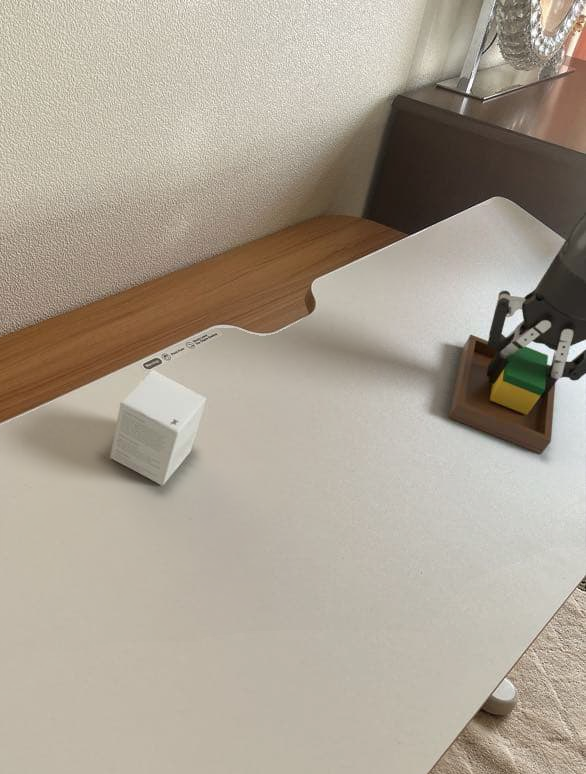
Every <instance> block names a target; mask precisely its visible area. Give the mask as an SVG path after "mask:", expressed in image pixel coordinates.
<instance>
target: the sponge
mask: <svg viewBox="0 0 586 774" xmlns="http://www.w3.org/2000/svg"><path fill="white" fill-rule="evenodd" d="M548 359H549V355H548V354H546V353H543V352H541V351H538V350H536V349H533V348H530V347H528V346H525V347H524V348H522V349H521V348H520V349H519V350H518V351H516V352H515V353H514V354H513V355H511V356H510V359H509V362H508V363H507V365H506V366H505V368H504V370H503V371H502V373H501V374H500V376H499V377H498V379H497V380H496V382H495V383H494V384H493V383H492V389H491V396H490V400H491V401H493V402H496V403H498V404H501V405H503V406H506V407H508V408H511V409H513V410H516V411H518V412H521V413H523V414H526V415H527V414H528V413H529V411H530V410H531V408H532V407H533V406H534V404H535V403H536V401H537V400H538V399H539V397H540V396H541V394H542V393H543V391H544V390H545V383H546V371H547V364H548V362H549V361H548Z"/></svg>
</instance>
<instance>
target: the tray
mask: <svg viewBox="0 0 586 774" xmlns="http://www.w3.org/2000/svg"><path fill="white" fill-rule="evenodd" d="M496 353H497V351H496V350H495V349H492V348H489V347H488V340H486V339H484V338H481V337H478V336H476V335H474V334H470V335H469V336H468V338H467V340H466V342H465V343H464V345H463V347H462V351H461V356H460V361H459V365H458V369H457V370H458V372H457V376H456V380H455V385H454V390H453V395H452V401H451V405H450V408H449V409H450V410H449V414H448V419H451V420H453V421H456V422H458V423H461V424H463V425H466V426H468V427H470V428H473V429H476V430H479V431H481V432H484V433H487V434H489V435H491V436H494V437H496V438H499V439H502V440H504V441H507V442H509V443H512V444H514V445H517V446H519V447H522V448H524V449H526V450H528V451H531V452H534V453H537V454H539V455H542V454H543V453H544V451H546V449H547V447H548V446H549V445H550V443H551V441H552V432H553V431H552V430H553V418H554V404H555V394H556V393H555V392H556V390H555V389H556V383H555V384H554V386H553V387H552V388H551V390H550V391H549V393H548V394H547V395H546V396H545V397H543V398H541V397H539V399H538V400H537V401H536V403H535V404H534V406H533V407H532V408H531V410H530V411H529V413H528V414H527V415H526V414H523V413H521V412H518V411H516V410H513V409H511V408H508V407H506V406H503V405H501V404H498V403H496V402H493V401H491V400H490V396H491V389H492V383H490V382H488V381H489V377H488V376H487V371H488V365H489V364H490V362H491V361H492V359H493V357H494V356H495V354H496ZM547 366H551V364H549V363H547Z"/></svg>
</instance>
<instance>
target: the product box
mask: <svg viewBox="0 0 586 774" xmlns="http://www.w3.org/2000/svg"><path fill="white" fill-rule="evenodd" d="M206 402H207V397H205V396H203V395H201V394H199V393H197V392H195V391H193V390H191V389H189V388H187V387H186V386H184V385H182V384H180V383H178V382H176V381H174V380H172V379H171V378H169V377H168V376H167V377H166V376H165V375H163V374H161V373H160V372H158V371H156V370H154V369H152V370H151V371H150V372H149V373H148V374H146V376H145V377H144V378H143V379H142V380H141V381H140V382H139V383H138V384H137V385H136V387H134V389H133V390H131V392H129V393H128V394H127V396H125V398H124V399H122V401H120V402H119V403H120V404H119V410H118V415H117V420H116V425H115V429H114V434H113V439H112V443H111V444H112V445H111V450H110V456H109V458H110V459H111V460H112V461H115V462H117V463H119V464H121V465H123V466H125V467H127V468H128V469H130V470H132V471H134V472H137V473H138V474H140V475H141V476H143V477H145V478H147V479H149V480H151V481H153V482H154V483H156V484H158V485H160V486H164V485H165V484H166V483H167V481H168V480H169V479H170V478H171V476H172V475H173V474H174V473H175V471H177V469H178V468H179V466H180V465H181V464H183V462H184V460H185V459H186V458H187V457H188V455H189V454H190V453H191V451H192V448H193V444H194V441H195V438H196V435H197V431H198V428H199V425H200V422H201V419H202V415H203V412H204V408H205V405H206Z"/></svg>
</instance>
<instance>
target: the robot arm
mask: <svg viewBox="0 0 586 774" xmlns="http://www.w3.org/2000/svg"><path fill="white" fill-rule="evenodd" d="M518 310H521V312H522V318H523V320H522V321H521V322H520V323H519V324H518V325H517V326H516V327H515V328H514V330H513V331H512V332H510V333H509V334H508V335H506V336H505V335H504V334H503V331H504V330H503V329H504V326H505V322H506V318H510V317H512V316H514V314H515V313H516V312H517V311H518ZM492 317H493V318H492V321H491V325H490V329H489V334H488V340H487V341H488V347H489V348H492V349H495V350H496V351H497V353H496V354H495V356H494V357H493V359H492V361H491V362H490V364H489V365H488V371H487V376H488V377H489V381H488V382H490V383H493V384H494V383H495V382H496V380H497V379H498V377H499V376H500V374H501V373H502V371H503V370H504V368H505V366H506V365H507V363H508V362H509V359H510V356H511V355H513V354H514V353H515V352H516V351H518V350H519V349H520V348H521V349H522V348H524V347H525V346H526V347H528V346H529V344H530V343H532V342H533V343H536V344H540V345H544V346H546V348H548V349H550V350H553V356H552V360H551V364H550V366H547V371H546V383H545V390H544V391H543V393H542V394H541V396H540V397H541V398H543V397H545V396H546V395H547V394H548V393H549V391H550V390H551V388H552V387H553V386H554V384H555V385H556V383H557V381H558V380H559V379H561V378H569V379H570V381H575V382H576V381H578V380H580V379H581V378H582V377H583V376H584V375H586V349H584V350H582V352H580V353H579V354H578V355H577V356H575V358H573V359H572V360H571V361H567V360H568V356H569V352H570V348H571V347H572V346H574V345H576V344H579V343H581V342H584V341H586V212H585V213H584V214H583V215H582V217H581V218H580V219H579V221H577V223H576V224H575V225H574V227H573V228H572V230H571V231H570V232H569V234H568V236H567V237H566V239H565V240H564V242H563V244H562V245H561V247H560V249H559V250H558V252H557V254H556V255H555V257H554V258H553V260H552V261H551V263H550V264H549V266H548V268H547V269H546V271H545V273H544V275H542V278H541V279H540V280H539V283H538V284H537V286H535V288H534V289H533V290H532V291H531V292H529V293H528V294H526V295H525V297H523V296H515V295H511V293H510V291H508V290H501V291H500V292H499V293H498V297H497V301H496V304H495V309H494V313H493V316H492Z"/></svg>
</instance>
